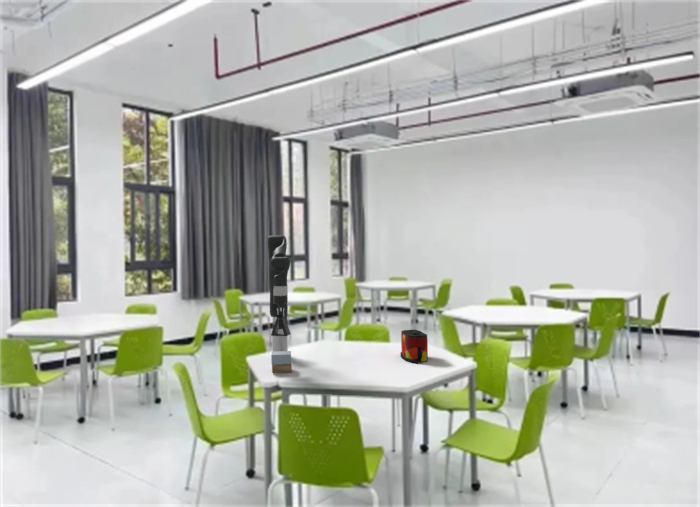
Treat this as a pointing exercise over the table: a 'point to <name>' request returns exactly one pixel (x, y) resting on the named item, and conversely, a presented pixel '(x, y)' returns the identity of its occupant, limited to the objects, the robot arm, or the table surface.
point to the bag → (414, 346)
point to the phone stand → (285, 327)
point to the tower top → (281, 357)
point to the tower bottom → (282, 368)
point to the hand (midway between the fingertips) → (280, 325)
